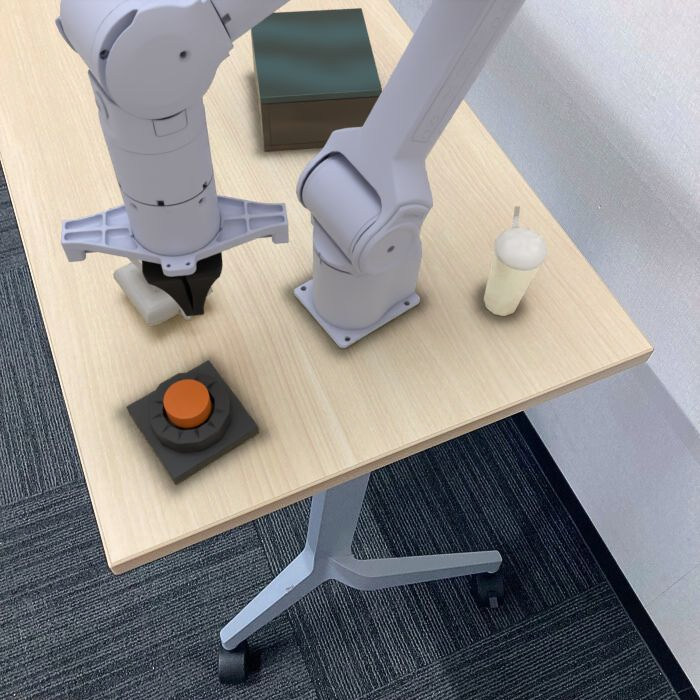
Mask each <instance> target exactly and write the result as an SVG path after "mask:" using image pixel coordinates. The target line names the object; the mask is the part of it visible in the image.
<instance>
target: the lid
mask: <svg viewBox="0 0 700 700" xmlns="http://www.w3.org/2000/svg"><path fill="white" fill-rule="evenodd" d="M251 34H252V40H251V43H252V42H253V49H254V57H255V65H256V72H257V80H258V88H259V95H260V103H261V104H266V103H281V102H296V101H312V100H327V99H342V98H357V97H372V96H380V94H381V93H382V91H383V88H382V84H381V80H380V76H379V72H378V68H377V63H376V59H375V55H374V51H373V47H372V44H371V40H370V36H369V32H368V28H367V24H366V19H365V16H364V12H363V8H362V7H357V8H356V7H355V8H338V9H337V8H336V9H319V10H318V9H316V10H299V11H298V10H297V11H296V10H295V11H277V12H276V11H275V12H274V13H272V14H271V15H269V16H268V17H267V18H265V19H264V20H263V21H261V22H260V23H258V24H257V25H256V26H254V27H253V28H252V29H250V35H251Z"/></svg>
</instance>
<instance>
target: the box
mask: <svg viewBox="0 0 700 700" xmlns="http://www.w3.org/2000/svg"><path fill="white" fill-rule="evenodd" d="M250 37H251V51H252V63H253V76H254V83H255V92H256V100H257V107H258V114H259V123H260V129H261V137H262V145H263V151H264V152H277V151H290V150H304V149H318V148H323V147H324V146H325V145H326V143H327V141H328V139H329V137H330V136H331V134H332V132H333V131H335V130H340V129H344V128H353V127H363V125H364V123H365V121H366V120H367V118H368V116H369V114H370V112H371V111H372V109H373V107H374V105H375V103H376V102H377V100H378V98H379V96H372V97H357V98H342V99H327V100H312V101H296V102H281V103H266V104H261V103H260V95H259V88H258V80H257V72H256V65H255V57H254V49H253V42H252V34H251V33H250Z"/></svg>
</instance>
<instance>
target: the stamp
mask: <svg viewBox="0 0 700 700" xmlns="http://www.w3.org/2000/svg"><path fill="white" fill-rule="evenodd" d="M127 259H128V260H129V263H127V264H125V265H123V266H121V267H119V268H117V269H115V270H114V272H113V274H112V276H113V280H114V281H115V282H116V284H118V286H119V287H120V289H121V291H122V292H123V293H124V294H125V295H126V297H127V298H128V300H129V301H130V302H131V304H132V305H133V306H134V308H135V309H136V310H137V312H138V313H139V315H140V316H141V317H142V319H143V320H144V321H145V322H146V324H147V326H148V327H153V326H156V325H157V326H160V325H161V324H163V323H165V322H167V321H168V320H170V319H172V318H174V317H175V316H177V315H179V314H180V315H181V316H182V318H183V319H184V320H185V321H188V322H190V321H191V320H192V316H186V315H185V313H184V312H183V310H182V309H181V307H180V306H179V305H178V304H177V303H176V301H175V300H174V299H173V298H172V297H171V296H170V295H168V294H167V293H166V292H165V291H163V290H162V289H160V288H158V287H156V286H153V285H150V284H148V282H147V281H146V279H145V278H144V276H143V273H142V260H137V259H132V258H127ZM213 292H214V289H213V287H212V286H211V288H210V290H209V292H208V294H207V297H208V296H210V295H212V293H213Z"/></svg>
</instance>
